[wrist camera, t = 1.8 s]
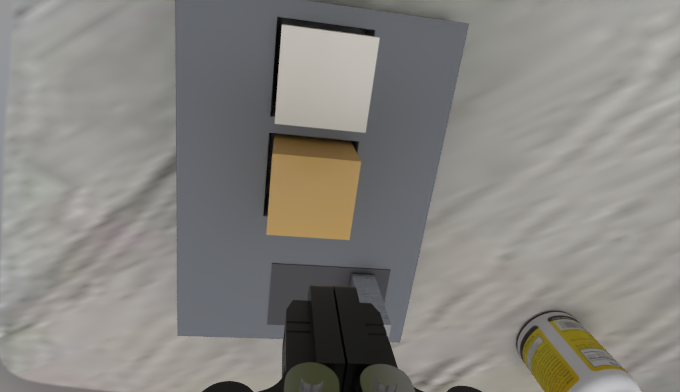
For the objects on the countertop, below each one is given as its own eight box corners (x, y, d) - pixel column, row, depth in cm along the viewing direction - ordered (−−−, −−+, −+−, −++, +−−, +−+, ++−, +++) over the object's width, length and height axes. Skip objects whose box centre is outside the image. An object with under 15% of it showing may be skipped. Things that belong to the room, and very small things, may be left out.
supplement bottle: (526, 372, 38) (602, 485, 28) (506, 328, 36) (580, 434, 26) (586, 344, 37) (681, 449, 28) (568, 298, 35) (666, 395, 26)
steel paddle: (351, 273, 28) (367, 338, 22) (374, 275, 28) (396, 339, 23) (343, 325, 30) (356, 399, 24) (365, 326, 30) (383, 399, 24)
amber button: (274, 134, 26) (272, 153, 22) (351, 141, 26) (361, 161, 23) (269, 205, 27) (266, 234, 23) (341, 210, 28) (349, 240, 24)
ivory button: (282, 23, 23) (281, 24, 20) (365, 34, 24) (379, 37, 20) (276, 108, 25) (274, 123, 21) (354, 116, 26) (365, 132, 22)
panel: (188, -15, 24) (174, -19, 21) (449, 23, 26) (469, 23, 23) (187, 307, 32) (177, 336, 29) (390, 315, 34) (400, 343, 31)
